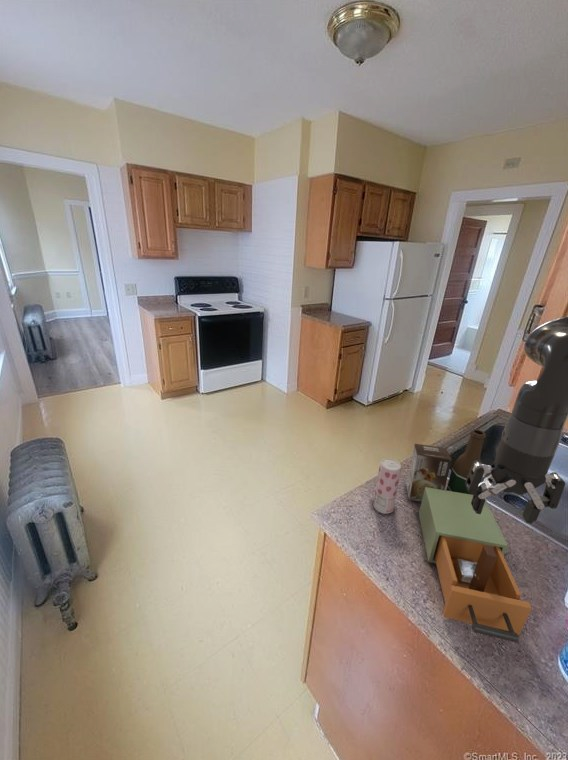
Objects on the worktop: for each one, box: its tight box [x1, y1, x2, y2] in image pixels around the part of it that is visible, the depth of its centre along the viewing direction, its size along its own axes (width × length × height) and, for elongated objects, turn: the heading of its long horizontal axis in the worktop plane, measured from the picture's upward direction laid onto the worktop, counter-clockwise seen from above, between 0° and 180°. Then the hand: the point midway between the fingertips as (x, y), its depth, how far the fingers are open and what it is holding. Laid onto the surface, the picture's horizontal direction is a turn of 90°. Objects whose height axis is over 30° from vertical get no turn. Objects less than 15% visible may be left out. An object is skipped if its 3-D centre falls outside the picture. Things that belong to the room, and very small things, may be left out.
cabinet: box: [418, 487, 509, 565], centre depth 80 cm, size 16×15×10 cm
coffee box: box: [406, 443, 453, 503], centre depth 94 cm, size 9×6×16 cm
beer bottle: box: [445, 429, 487, 495], centre depth 91 cm, size 8×8×24 cm
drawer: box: [434, 535, 533, 643], centre depth 66 cm, size 19×13×8 cm
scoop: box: [455, 545, 497, 592], centre depth 67 cm, size 5×8×13 cm, turn 167°
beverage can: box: [372, 457, 402, 515], centre depth 90 cm, size 6×6×15 cm
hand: (501, 515), depth 61 cm, fingers open, 8 cm apart
